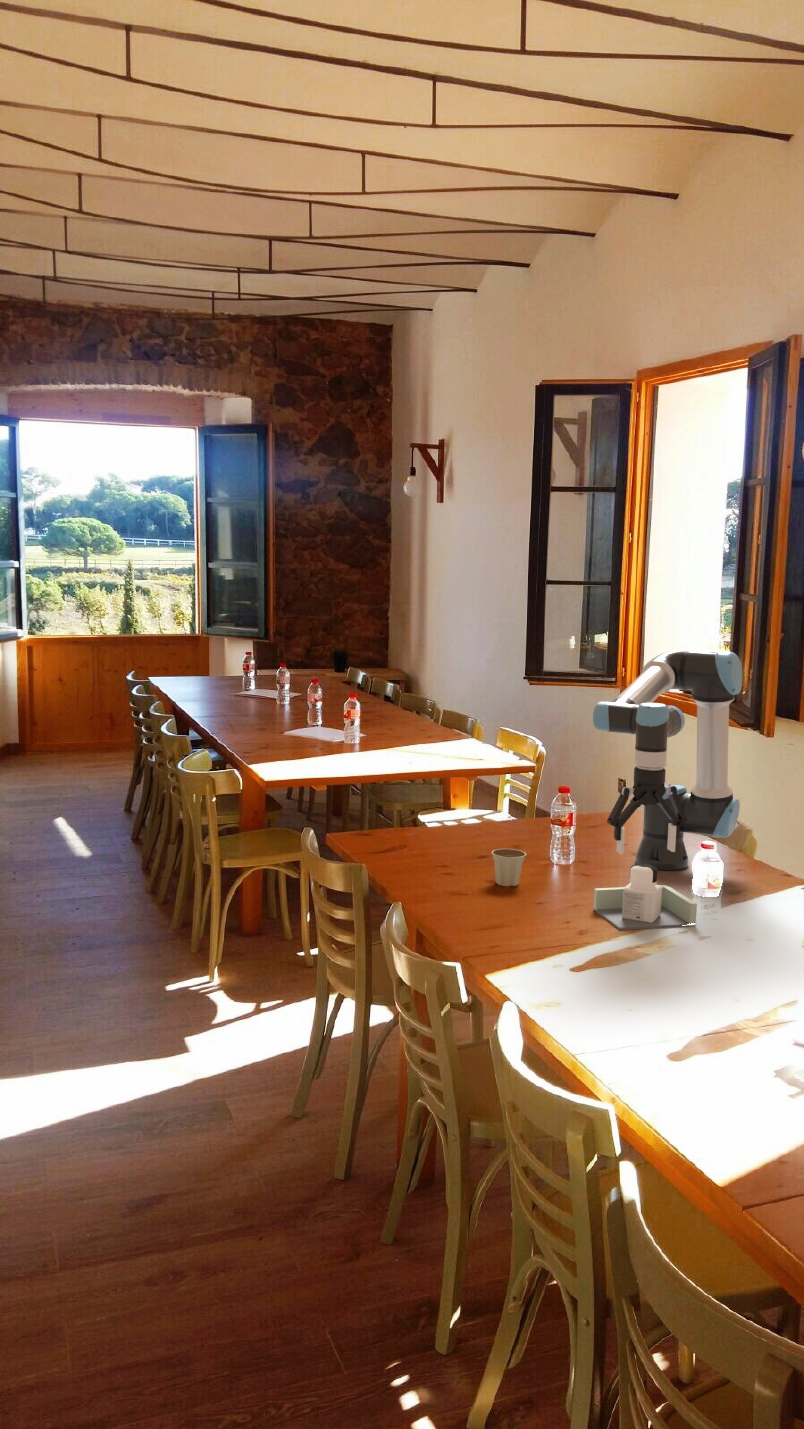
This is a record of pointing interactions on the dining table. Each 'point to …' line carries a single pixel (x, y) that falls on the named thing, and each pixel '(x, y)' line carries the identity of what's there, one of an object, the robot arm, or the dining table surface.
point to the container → (642, 894)
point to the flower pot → (508, 866)
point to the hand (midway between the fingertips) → (645, 851)
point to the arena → (672, 914)
